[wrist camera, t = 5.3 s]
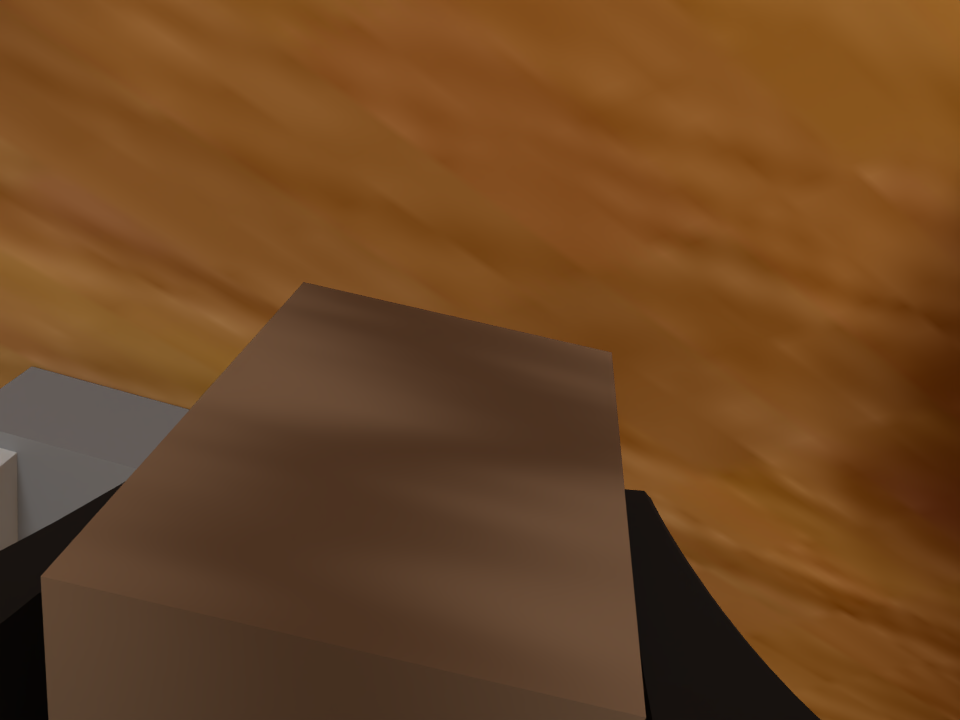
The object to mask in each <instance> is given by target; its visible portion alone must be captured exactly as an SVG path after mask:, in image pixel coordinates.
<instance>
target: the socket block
mask: <svg viewBox="0 0 960 720" xmlns="http://www.w3.org/2000/svg"><path fill="white" fill-rule="evenodd" d="M188 411H189V410H188V409H185V408H181V407H178V406H174V405H170V404H167V403H163V402H159V401H156V400H152V399H148V398H145V397H141V396H137V395H134V394H130V393H127V392H123V391H119V390H116V389H112V388H108V387H105V386H101V385H97V384H94V383H90V382H86V381H83V380H79V379H75V378H72V377H68V376H65V375H61V374H57V373H54V372H50V371H46V370H43V369H39V368H35V367H30V368H29V369H28V370H26V371H25V372H23V373H22V374H21V375H19V376H18V377H16V378H15V379H14V380H12V381H11V382H9V383H8V384H7V385H5V386H4V387H2V388H1V389H0V551H1V550H3V549H4V548H6V547H8V546H10V545H12V544H14V543H16V542H18V541H20V540H21V539H23V538H25V537H27V536H29V535H31V534H33V533H35V532H37V531H39V530H40V529H42V528H44V527H46V526H48V525H50V524H52V523H54V522H55V521H57V520H59V519H61V518H62V517H64V516H66V515H68V514H69V513H71V512H73V511H75V510H76V509H78V508H80V507H82V506H83V505H85V504H87V503H89V502H90V501H92V500H94V499H96V498H97V497H99V496H101V495H103V494H104V493H106V492H108V491H109V490H111V489H113V488H115V487H116V486H118V485H120V484H122V483H123V482H125V481H126V480H127V479H128V478H129V477H130V476H131V475H132V474H133V472H134V471H135V470H136V469H137V468H138V467H139V466H140V465H141V464H142V462H143V461H144V460H145V459H146V458H147V457H148V456H149V455H150V453H151V452H152V451H153V450H154V449H155V448H156V447H157V446H158V445H159V443H160V442H161V441H162V440H163V439H164V438H165V437H166V436H167V434H168V433H169V432H170V431H171V430H172V429H173V428H174V427H175V426H176V424H177V423H178V422H179V421H180V420H181V419H182V418H183V417H184V415H185V414H186V413H187V412H188Z"/></svg>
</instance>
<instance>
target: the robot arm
mask: <svg viewBox="0 0 960 720" xmlns="http://www.w3.org/2000/svg"><path fill="white" fill-rule="evenodd" d="M124 483H125V482H123V483H122V484H120V485H118V486H116V487H115V488H113V489H111V490H109V491H108V492H106V493H104V494H103V495H101V496H99V497H97V498H96V499H94V500H92V501H90V502H89V503H87V504H85V505H83V506H82V507H80V508H78V509H76V510H75V511H73V512H71V513H69V514H68V515H66V516H64V517H62V518H61V519H59V520H57V521H55V522H54V523H52V524H50V525H48V526H46V527H44V528H42V529H40V530H39V531H37V532H35V533H33V534H31V535H29V536H27V537H25V538H23V539H21V540H20V541H18V542H16V543H14V544H12V545H10V546H8V547H6V548H4V549H3V550H1V551H0V720H49V718H48V700H47V682H46V664H45V646H44V628H43V610H42V592H41V575H42V574H43V573H44V572H45V571H46V570H47V569H48V568H49V566H50V565H51V564H52V563H53V562H54V561H55V560H56V559H57V557H58V556H59V555H60V554H61V553H62V552H63V551H64V550H65V549H66V547H67V546H68V545H69V544H70V543H71V542H72V541H73V540H74V538H75V537H76V536H77V535H78V534H79V533H80V532H81V531H82V530H83V528H84V527H85V526H86V525H87V524H88V523H89V522H90V521H91V519H92V518H93V517H94V516H95V515H96V514H97V513H98V512H99V511H100V509H101V508H102V507H103V506H104V505H105V504H106V503H107V502H108V500H109V499H110V498H111V497H112V496H113V495H114V494H115V493H116V491H117V490H118V489H119V488H120V487H121V486H122V485H123V484H124ZM625 500H626V511H627V521H628V532H629V542H630V553H631V563H632V574H633V584H634V595H635V606H636V616H637V627H638V637H639V648H640V658H641V669H642V679H643V690H644V701H645V711H646V719H645V720H820V719H819V718H818V717H817V716H816V715H815V714H814V713H813V712H812V711H811V710H810V709H809V708H808V707H807V706H806V705H805V704H804V703H803V702H802V701H801V700H799V699H798V698H797V697H796V696H795V695H794V694H793V692H792V691H791V690H790V689H789V688H788V687H787V686H786V685H785V684H784V683H783V682H782V681H781V680H780V679H779V677H778V676H777V675H776V674H775V673H774V672H773V671H772V670H771V669H770V668H769V667H768V666H767V664H766V663H765V662H764V661H763V660H762V659H761V658H760V656H759V655H758V654H757V653H756V652H755V651H754V649H753V648H752V647H751V646H750V645H749V643H748V642H747V641H746V640H745V639H744V637H743V636H742V635H741V634H740V632H739V631H738V630H737V629H736V627H735V626H734V625H733V624H732V622H731V621H730V620H729V619H728V617H727V616H726V615H725V613H724V612H723V611H722V609H721V608H720V607H719V605H718V604H717V603H716V601H715V600H714V599H713V597H712V596H711V595H710V593H709V592H708V590H707V589H706V587H705V586H704V585H703V583H702V582H701V580H700V579H699V577H698V576H697V574H696V573H695V572H694V570H693V569H692V567H691V566H690V564H689V563H688V561H687V560H686V558H685V557H684V555H683V554H682V552H681V550H680V549H679V547H678V546H677V544H676V542H675V541H674V539H673V537H672V536H671V534H670V532H669V531H668V529H667V527H666V526H665V524H664V522H663V520H662V519H661V517H660V515H659V513H658V511H657V509H656V508H655V506H654V504H653V502H652V500H651V498H650V497H649V496H648V495H647V494H646V492H645V491H638V490H626V489H625Z"/></svg>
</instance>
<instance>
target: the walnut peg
mask: <svg viewBox="0 0 960 720" xmlns="http://www.w3.org/2000/svg"><path fill="white" fill-rule="evenodd" d="M41 592H42V610H43V628H44V646H45V664H46V682H47V700H48V718H49V720H645V719H646V711H645V701H644V690H643V679H642V669H641V658H640V648H639V637H638V627H637V616H636V606H635V595H634V584H633V574H632V563H631V553H630V542H629V532H628V521H627V511H626V500H625V489H624V479H623V468H622V458H621V447H620V437H619V426H618V416H617V405H616V394H615V384H614V373H613V363H612V353H611V352H607V351H602V350H598V349H594V348H589V347H585V346H580V345H576V344H572V343H567V342H563V341H559V340H554V339H550V338H545V337H541V336H537V335H532V334H528V333H524V332H519V331H515V330H510V329H506V328H502V327H497V326H493V325H489V324H484V323H480V322H475V321H471V320H467V319H462V318H458V317H454V316H449V315H445V314H440V313H436V312H432V311H427V310H423V309H419V308H414V307H410V306H405V305H401V304H397V303H392V302H388V301H384V300H379V299H375V298H370V297H366V296H362V295H357V294H353V293H349V292H344V291H340V290H335V289H331V288H327V287H322V286H318V285H314V284H309V283H305V282H303V284H302V285H301V286H300V287H299V288H298V289H297V290H296V291H295V292H294V294H293V295H292V296H291V297H290V298H289V299H288V300H287V301H286V303H285V304H284V305H283V306H282V307H281V308H280V309H279V310H278V311H277V313H276V314H275V315H274V316H273V317H272V318H271V319H270V320H269V322H268V323H267V324H266V325H265V326H264V327H263V328H262V329H261V330H260V332H259V333H258V334H257V335H256V336H255V337H254V338H253V339H252V341H251V342H250V343H249V344H248V345H247V346H246V347H245V348H244V349H243V351H242V352H241V353H240V354H239V355H238V356H237V357H236V358H235V360H234V361H233V362H232V363H231V364H230V365H229V366H228V367H227V369H226V370H225V371H224V372H223V373H222V374H221V375H220V376H219V377H218V379H217V380H216V381H215V382H214V383H213V384H212V385H211V386H210V388H209V389H208V390H207V391H206V392H205V393H204V394H203V395H202V396H201V398H200V399H199V400H198V401H197V402H196V403H195V404H194V405H193V407H192V408H191V409H190V410H189V411H188V412H187V413H186V414H185V415H184V417H183V418H182V419H181V420H180V421H179V422H178V423H177V424H176V426H175V427H174V428H173V429H172V430H171V431H170V432H169V433H168V434H167V436H166V437H165V438H164V439H163V440H162V441H161V442H160V443H159V445H158V446H157V447H156V448H155V449H154V450H153V451H152V452H151V453H150V455H149V456H148V457H147V458H146V459H145V460H144V461H143V462H142V464H141V465H140V466H139V467H138V468H137V469H136V470H135V471H134V472H133V474H132V475H131V476H130V477H129V478H128V479H127V480H126V481H125V483H124V484H123V485H122V486H121V487H120V488H119V489H118V490H117V491H116V493H115V494H114V495H113V496H112V497H111V498H110V499H109V500H108V502H107V503H106V504H105V505H104V506H103V507H102V508H101V509H100V511H99V512H98V513H97V514H96V515H95V516H94V517H93V518H92V519H91V521H90V522H89V523H88V524H87V525H86V526H85V527H84V528H83V530H82V531H81V532H80V533H79V534H78V535H77V536H76V537H75V538H74V540H73V541H72V542H71V543H70V544H69V545H68V546H67V547H66V549H65V550H64V551H63V552H62V553H61V554H60V555H59V556H58V557H57V559H56V560H55V561H54V562H53V563H52V564H51V565H50V566H49V568H48V569H47V570H46V571H45V572H44V573H43V574H42V575H41Z"/></svg>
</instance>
